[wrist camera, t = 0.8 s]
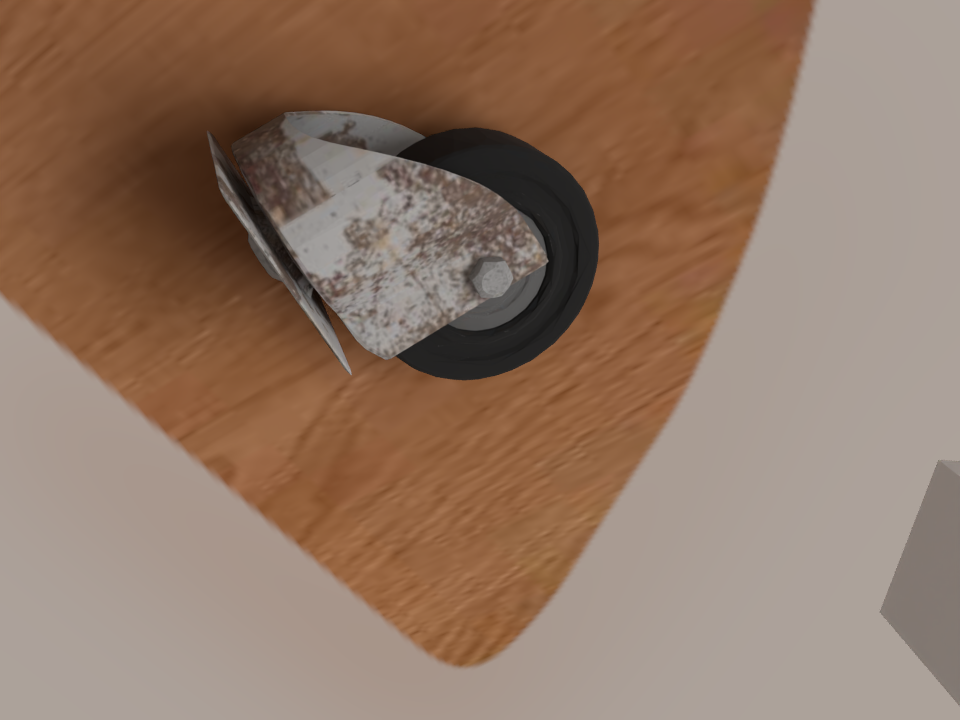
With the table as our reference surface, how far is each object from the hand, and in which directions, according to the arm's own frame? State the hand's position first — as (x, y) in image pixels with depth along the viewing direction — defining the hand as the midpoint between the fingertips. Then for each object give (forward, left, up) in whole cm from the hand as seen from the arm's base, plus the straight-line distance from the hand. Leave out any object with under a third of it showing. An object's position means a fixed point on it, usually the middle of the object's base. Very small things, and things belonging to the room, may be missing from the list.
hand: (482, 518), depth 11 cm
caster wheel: (0, 0, -19) cm, 19 cm away
